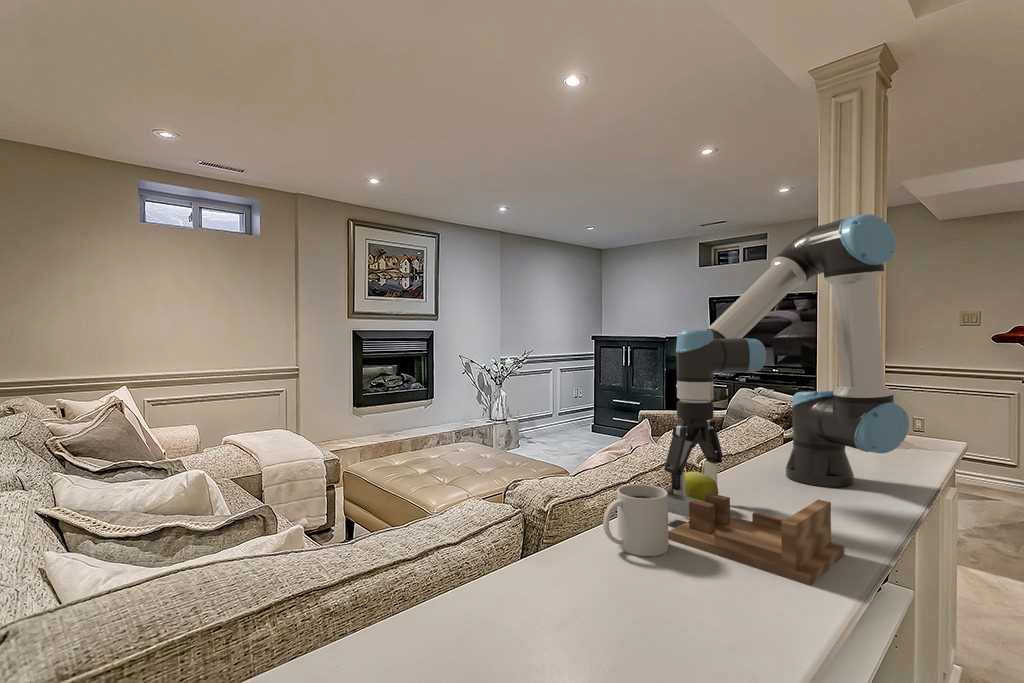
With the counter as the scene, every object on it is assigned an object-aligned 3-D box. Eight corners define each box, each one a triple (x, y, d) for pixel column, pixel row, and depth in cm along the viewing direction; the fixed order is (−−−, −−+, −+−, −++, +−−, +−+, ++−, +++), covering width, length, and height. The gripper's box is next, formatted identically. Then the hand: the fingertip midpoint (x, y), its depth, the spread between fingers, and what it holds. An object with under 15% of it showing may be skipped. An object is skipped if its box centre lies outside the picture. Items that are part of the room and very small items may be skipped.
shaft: (668, 508, 106) (668, 487, 106) (715, 521, 98) (715, 498, 98) (656, 513, 103) (656, 491, 103) (704, 527, 95) (703, 504, 95)
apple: (667, 505, 113) (667, 469, 113) (703, 501, 116) (702, 466, 115) (688, 517, 106) (687, 478, 106) (725, 512, 108) (725, 475, 108)
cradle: (710, 518, 105) (710, 477, 105) (844, 554, 87) (843, 505, 87) (668, 539, 94) (667, 493, 94) (809, 585, 76) (809, 529, 76)
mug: (669, 539, 94) (668, 486, 94) (667, 561, 85) (666, 502, 85) (610, 533, 98) (609, 481, 98) (602, 553, 89) (601, 496, 89)
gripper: (707, 394, 121) (707, 483, 122) (646, 403, 105) (647, 506, 105) (738, 397, 116) (738, 489, 116) (679, 407, 99) (680, 515, 100)
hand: (695, 497), depth 111 cm, fingers open, 13 cm apart
